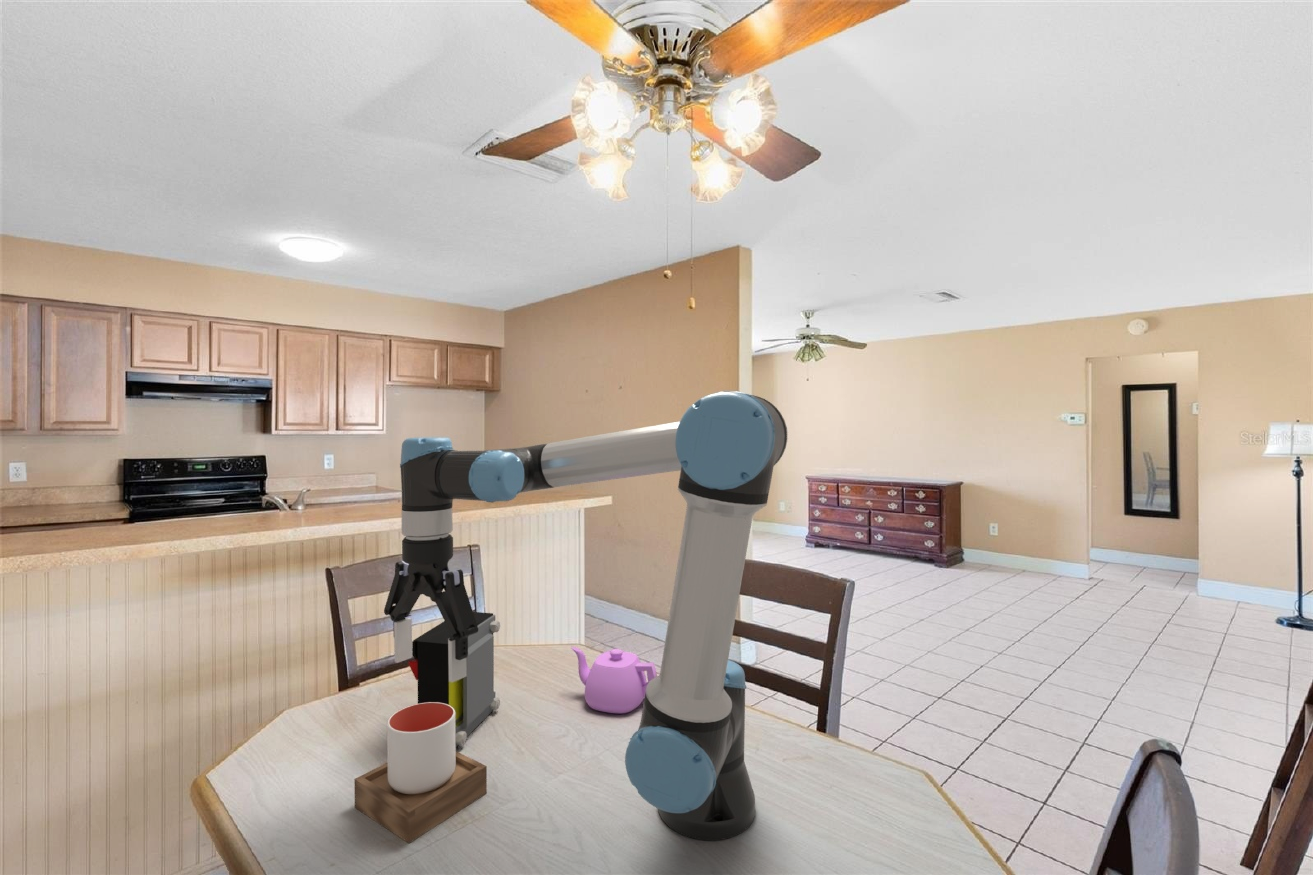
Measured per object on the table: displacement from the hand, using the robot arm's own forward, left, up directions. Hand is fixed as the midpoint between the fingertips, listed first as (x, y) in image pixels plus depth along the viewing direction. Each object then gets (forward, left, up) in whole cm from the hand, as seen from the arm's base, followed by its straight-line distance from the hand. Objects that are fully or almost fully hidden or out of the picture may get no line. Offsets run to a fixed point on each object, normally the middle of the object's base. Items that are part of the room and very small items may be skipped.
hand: (429, 669), depth 96 cm
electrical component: (+15, -17, -21) cm, 31 cm away
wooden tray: (+1, +1, -21) cm, 21 cm away
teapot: (-3, -43, -21) cm, 48 cm away
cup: (+1, +1, -18) cm, 18 cm away
